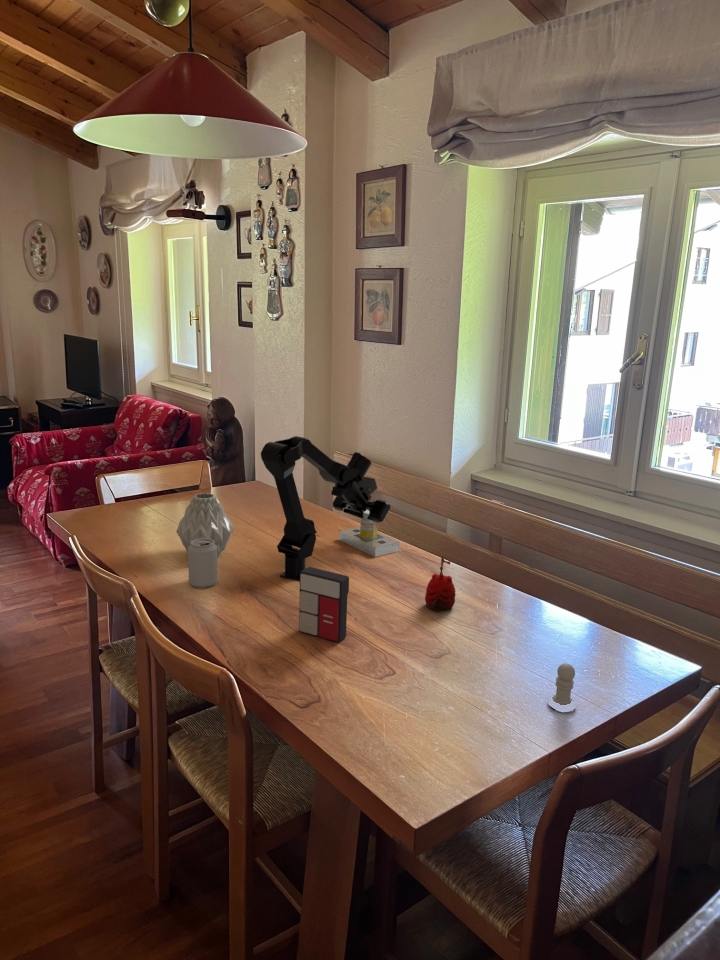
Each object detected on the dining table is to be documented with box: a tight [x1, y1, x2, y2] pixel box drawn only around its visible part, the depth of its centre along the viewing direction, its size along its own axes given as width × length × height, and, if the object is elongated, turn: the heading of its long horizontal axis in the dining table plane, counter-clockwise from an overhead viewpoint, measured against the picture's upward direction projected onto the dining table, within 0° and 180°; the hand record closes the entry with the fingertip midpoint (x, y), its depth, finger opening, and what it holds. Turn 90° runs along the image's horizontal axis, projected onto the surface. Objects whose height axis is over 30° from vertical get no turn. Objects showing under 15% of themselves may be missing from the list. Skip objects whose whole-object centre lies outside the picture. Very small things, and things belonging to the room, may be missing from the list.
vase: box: [175, 492, 235, 559], centre depth 207 cm, size 16×16×18 cm
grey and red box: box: [298, 566, 350, 643], centre depth 162 cm, size 11×4×15 cm, turn 62°
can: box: [187, 538, 218, 589], centre depth 188 cm, size 8×8×12 cm
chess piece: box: [552, 662, 576, 705], centre depth 137 cm, size 5×5×9 cm
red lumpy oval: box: [424, 555, 456, 612], centre depth 178 cm, size 8×7×15 cm
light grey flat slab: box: [338, 526, 400, 558], centre depth 222 cm, size 18×10×3 cm, turn 38°
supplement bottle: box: [360, 509, 379, 542], centre depth 220 cm, size 5×5×10 cm
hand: (371, 520), depth 221 cm, fingers closed on supplement bottle, 5 cm apart
